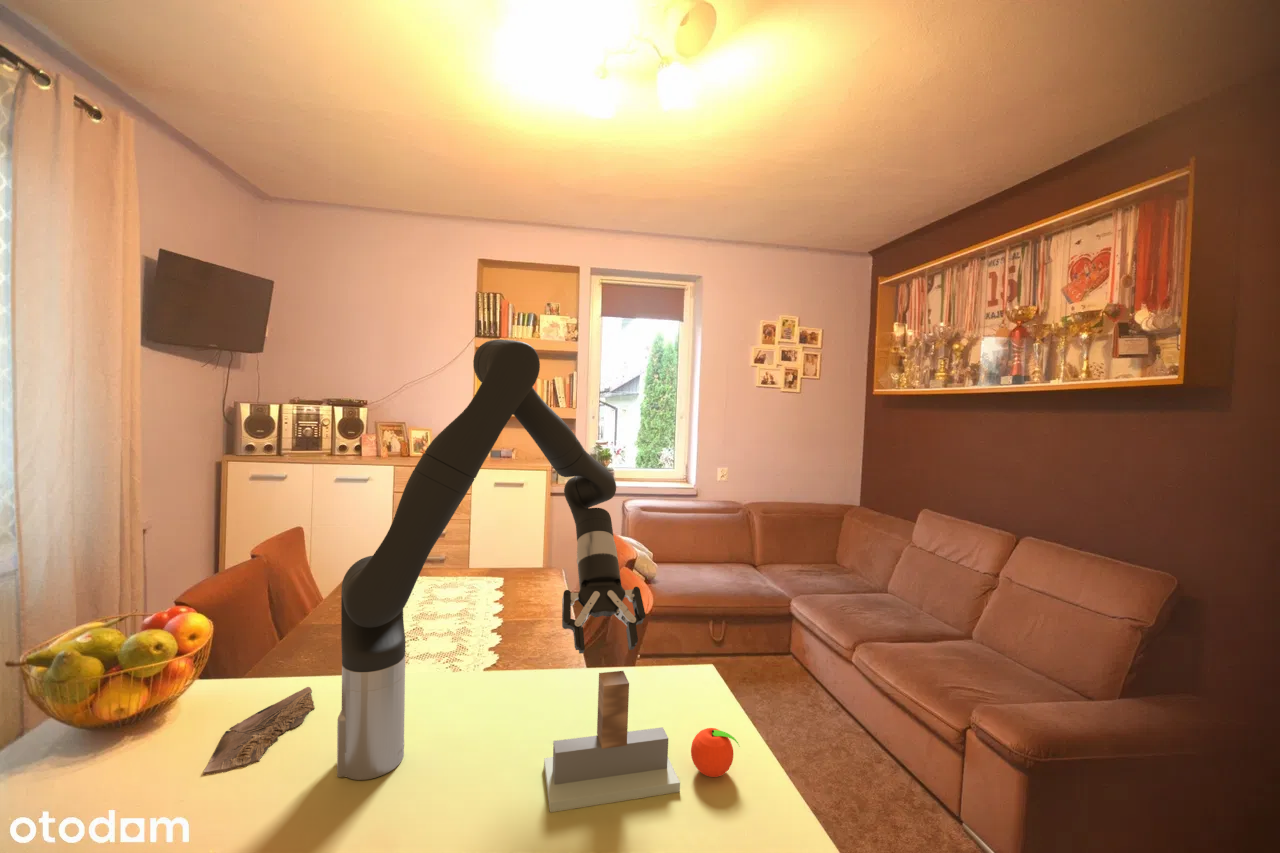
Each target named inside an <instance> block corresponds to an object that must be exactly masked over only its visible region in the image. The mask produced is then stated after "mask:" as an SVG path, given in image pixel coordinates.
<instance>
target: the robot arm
mask: <svg viewBox="0 0 1280 853" xmlns="http://www.w3.org/2000/svg"><path fill="white" fill-rule="evenodd" d="M472 362H473V366H472V367H473V371H474V373H475V376H476V377H477V379H478V381H479V382H481V383H480V385H479V387H478V389H477V391H476V392H475V394H474V397H473V398H472V399H471V401H470V402H469V404H468V405H467V407H465V409H464V410H462V411H461V413H460V414H458V416H457V417H455V418H454V420H452V421H451V422H449V424H448V425H447V426H446V427H445V428H444V429H443V430H442V431H440V432H439V433H438V434H437V436H436V437H434V439H432V441H431V442H430V443H429V444H428V446H427V448H426V449H425V450H424V453H422V456H421V457H420V459H419V461H418V463H417V464H416V465H415V467H414V469H413V470H412V472H411V474H410V476H409V478H408V480H407V483H406V484H405V487H404V490H403V492H402V495H401V496H400V497H401V498H400V500H399V501H398V502H399V503H398V506H397V508H396V511H395V513H394V514H395V515H394V517H393V520H392V522H391V525H390V527H389V529H388V531H387V533H386V535H385V537H384V538H383V540H382V542H381V543H380V544H379V546H378V547H377V549H376V550H375V552H374V553H373V555H369V556H365V557H363V558H360V559H359V560H357V561H356V562H354V563H353V564H352V565H351V566H350V567H349V568H348V569H347V570H346V573H345V575H344V577H343V579H342V583H341V591H340V592H341V593H340V594H341V595H340V596H341V600H340V601H341V602H340V604H341V606H340V608H341V620H340V621H341V622H340V623H341V624H340V625H341V627H340V629H341V630H340V631H341V633H340V638H341V640H340V641H341V644H340V645H341V710H340V712H339V715H338V716H337V726H336V728H337V730H336V731H337V735H336V736H337V740H336V742H337V744H336V745H337V746H336V747H337V749H336V750H337V752H336V753H337V754H336V755H337V756H336V759H337V760H336V762H337V763H336V764H337V765H336V777H338V778H341V777H345V778H349V779H351V780H356V781H357V780H358V781H365V780H371V779H375V778H378V777H381V776H384V775H386V774H388V773H390V772H391V771H393V770H394V769H396V768H397V767H398V766H399V765H400V764H401V763H402V761H403V759H404V756H405V754H404V753H405V710H406V709H405V707H406V706H405V705H406V703H405V702H406V701H405V699H406V698H405V695H406V693H405V692H406V634H405V625H404V608H405V606H407V603H408V600H409V599H410V597H411V594H412V592H413V589H414V587H415V585H416V584H417V581H418V578H419V576H420V574H421V572H422V570H423V567H424V566H425V564H426V562H427V559H428V557H429V555H430V553H431V552H432V550H433V548H434V546H436V543H437V541H438V540H439V538H440V537H441V535H442V534H443V532H444V531H445V529H446V527H447V526H448V524H449V522H450V521H451V519H452V518H453V516H454V514H455V513H456V511H457V509H458V508H459V506H460V505H461V503H462V501H463V500H464V499H465V497H466V495H467V493H468V492H469V489H470V488H471V486H472V485H473V483H474V481H475V479H476V478H477V475H478V474H479V472H480V470H481V468H482V466H483V464H484V463H485V461H486V459H487V457H488V456H489V454H490V453H491V451H492V449H493V448H494V446H495V444H496V442H497V440H498V439H499V437H500V435H501V434H502V431H503V430H504V428H505V427H506V425H507V423H508V422H509V421H510V419H511V418H512V416H514V417H515V419H516V420H518V422H519V423H520V424H521V426H522V427H523V428H524V429H525V431H526V432H527V433H528V434H529V436H530V437H531V439H532V440H533V441H534V443H535V444H536V446H538V448H539V450H540V451H541V452H542V454H543V455H544V457H545V459H546V460H547V462H548V463H549V464H550V466H552V467H553V469H554V471H555V472H556V473H557V474H558V475H559V476H561V477H563V478H570V479H568V480H567V482H566V483H565V486H564V488H563V494H564V498H565V500H566V502H567V504H568V507H569V509H570V512H571V514H572V518H573V520H574V524H575V532H576V533H575V534H576V564H577V573H578V574H577V575H578V583H579V584H578V586H579V590H578V592H571V590H569V589H565V590H564V591H563V594H562V600H561V601H562V602H561V603H562V608H561V611H562V612H561V613H562V615H561V616H562V618H561V621H562V622H561V626H562V629H564V630H571V631H572V632H573V642H574V643H573V644H574V648H575V651H578V654H579V655H580V654H584V653H585V646H586V645H585V636H584V624H585V623H586V621H587V620H588V619H589V617H590V616H592V617H593V618H600V617H606V618H607V617H612V616H615V617H616V618H617V619H618V620H619V621H621V622H622V623H623V624H624V625H625V626H626V628H625V632H626V639H627V645H628V646H627V647H628V650H629V651H631V650H634V649H635V647H636V646H637V644H638V641H639V639H638V638H639V637H638V636H639V635H638V631H637V630H638V629H637V625H642V624H643V622H644V620H645V618H646V610H645V607H644V602H643V597H642V593H641V588H640V587H638V586H634V587H633V588H632V589H624V588H623V585H622V579H621V572H620V564H619V558H618V551H617V544H616V543H615V539H614V538H615V537H614V531H613V530H614V529H613V524H612V523H613V522H612V517H611V513H609V512H608V510H606V509H605V508H602V507H594V506H598V505H599V504H602V503H605V502H608V501H610V500H611V499H613V498H614V496H615V495H616V492H617V483H616V480H615V478H614V476H613V475H612V473H611V472H610V471H609V469H608V468H607V467H605V466H604V465H603V464H601V463H600V462H599V461H598V460H596V459H595V458H594V457H593V456H592V455H591V454H589V453H588V452H587V451H586V450H585V448H584V446H583V445H582V443H581V442H580V441H579V439H578V437H577V436H576V435H575V433H574V431H573V430H572V429H571V427H569V425H568V424H567V423H566V422H565V421H564V420H563V419H562V417H561V416H560V415H559V414H557V413H556V412H555V411H554V410H553V409H552V408H551V407H550V406H549V405H548V404H547V403H546V402H545V400H543V399H542V397H540V396H541V395H539V394H538V392H537V390H535V388H534V385H535V384H536V382H537V380H538V377H539V375H540V370H541V363H540V358H539V355H538V352H537V351H536V349H535V348H534V346H532V345H531V344H529V343H527V342H524V341H520V340H514V339H498V338H497V339H490V340H487V341H486V342H484V343H482V344H480V346H479V347H478V348H477V350H476V351H475V353H474V355H473V361H472ZM625 598H627V600H628V602H629V603H632V608H633V613H634V614H633V613H632V612H631V611H630V610H629V608H628V606H627V605H626V604H625V603H624V602H623V601H624V599H625ZM576 601H578V602H579V604H580V605H581V606H582V610H581V611H580V613H579V614H578V616H577V617H576V619H574V618H572V610H571V609H572V606H574V605H575V602H576Z"/></svg>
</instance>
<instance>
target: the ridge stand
mask: <svg viewBox="0 0 1280 853" xmlns="http://www.w3.org/2000/svg"><path fill="white" fill-rule="evenodd" d="M552 746H553V747H552V748H553V750H552V751H553V752H552V756H550V757H544V758H543V761H544V762H543V768H544V777H545V785H546V786H545V787H546V793H547V794H546V795H547V799H548V800H547V801H548V807H549V813H554V812H555V813H556V812H560V811H568V810H574V809H579V808H581V809H582V808H587V807H593V806H600V805H605V804H612V803H618V802H623V801H624V802H625V801H631V800H638V799H641V798H642V799H643V798H649V797H655V796H662V795H667V794H669V795H670V794H674V793H675V794H676V793H680V792H681V782H680V779H679V776H678V775H677V773H676V771H675V768H674V767H673V763H672V762H671V760H670V759H669V758H670V757H669V753H668V752H669V737H668V735H667V732H666V731H665V728H664V727H655V728H647V729H638V730H629V731H627V746H620V747H612V748H605V749H602V748H601V745H600V742H599V738H598V735H591V736H582V737H576V738H575V737H574V738H567V739H559V740H558V739H557V740H553V743H552Z"/></svg>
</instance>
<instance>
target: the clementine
mask: <svg viewBox="0 0 1280 853" xmlns="http://www.w3.org/2000/svg"><path fill="white" fill-rule="evenodd" d="M730 739H731V740H733V741H735V742H736V744H737V745H738V746H740V744H739V742H738V741H737V739H736V738H735V737H733V736H732V735H731V734H730V733H728V732H726V731H723V730H720V729H719V728H715V727H708V728H704V729H702V730H700V731H699V732H697V733H696V734H695V736H694V738H693V740H692V741H691V748H690V754H691V759H692V762H693V766H694V767H695V768H696V769H697V770H698V771H699V772H700V773H701V774H702V775H704V776H707V777H709V778H717V777H721V776H723V775H725V774H726V773H727V772H728V771H729V770H730V768H731V766H732V764H733V762H734V748H733V744H732V742H731V740H730Z"/></svg>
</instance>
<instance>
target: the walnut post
mask: <svg viewBox="0 0 1280 853" xmlns="http://www.w3.org/2000/svg"><path fill="white" fill-rule="evenodd" d="M597 691H598V692H597V693H598V694H597V697H598V698H597V718H596V719H597V720H596V721H597V722H596V723H597V724H596V725H597V726H596V734H597V735H598V738H599V742H600V745H601V748H602V749H605V748H612V747H620V746H627V732H628V723H629V720H628V719H629V699H630V698H629V697H630V682H629V680H628V678H627V675H626V673H625V671H624V670H617V671H607V672H606V671H605V672H599V673H598V689H597ZM597 735H596V736H597Z"/></svg>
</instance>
